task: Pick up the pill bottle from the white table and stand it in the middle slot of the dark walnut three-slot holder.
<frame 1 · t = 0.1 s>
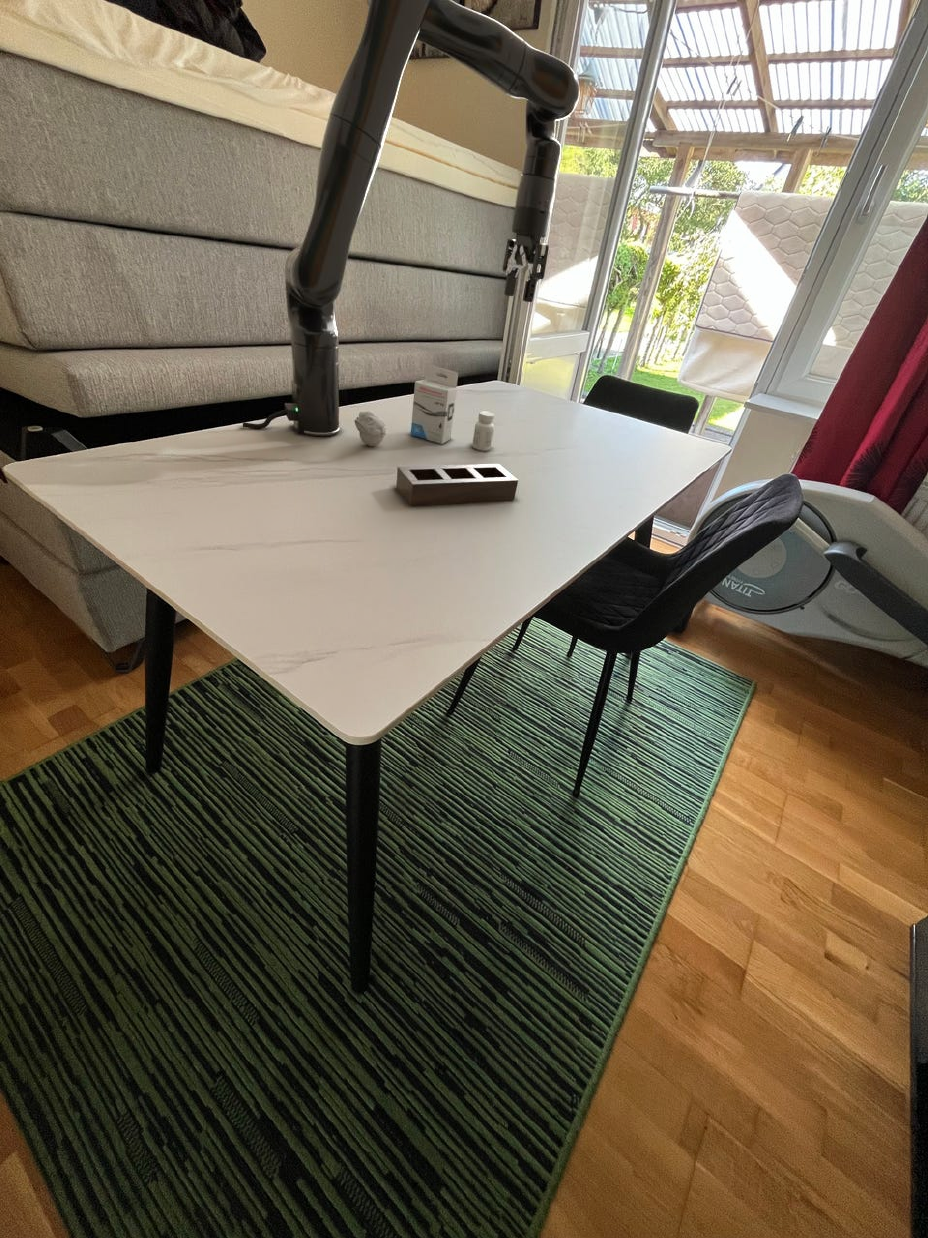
hand: (517, 298, 115), 29 cm above the table, tool pointing down, fingers open, 8 cm apart
pill bottle: (481, 448, 120), on the table
ink box: (430, 438, 121), on the table
frog figurine: (369, 446, 111), on the table
holder: (456, 493, 96), on the table
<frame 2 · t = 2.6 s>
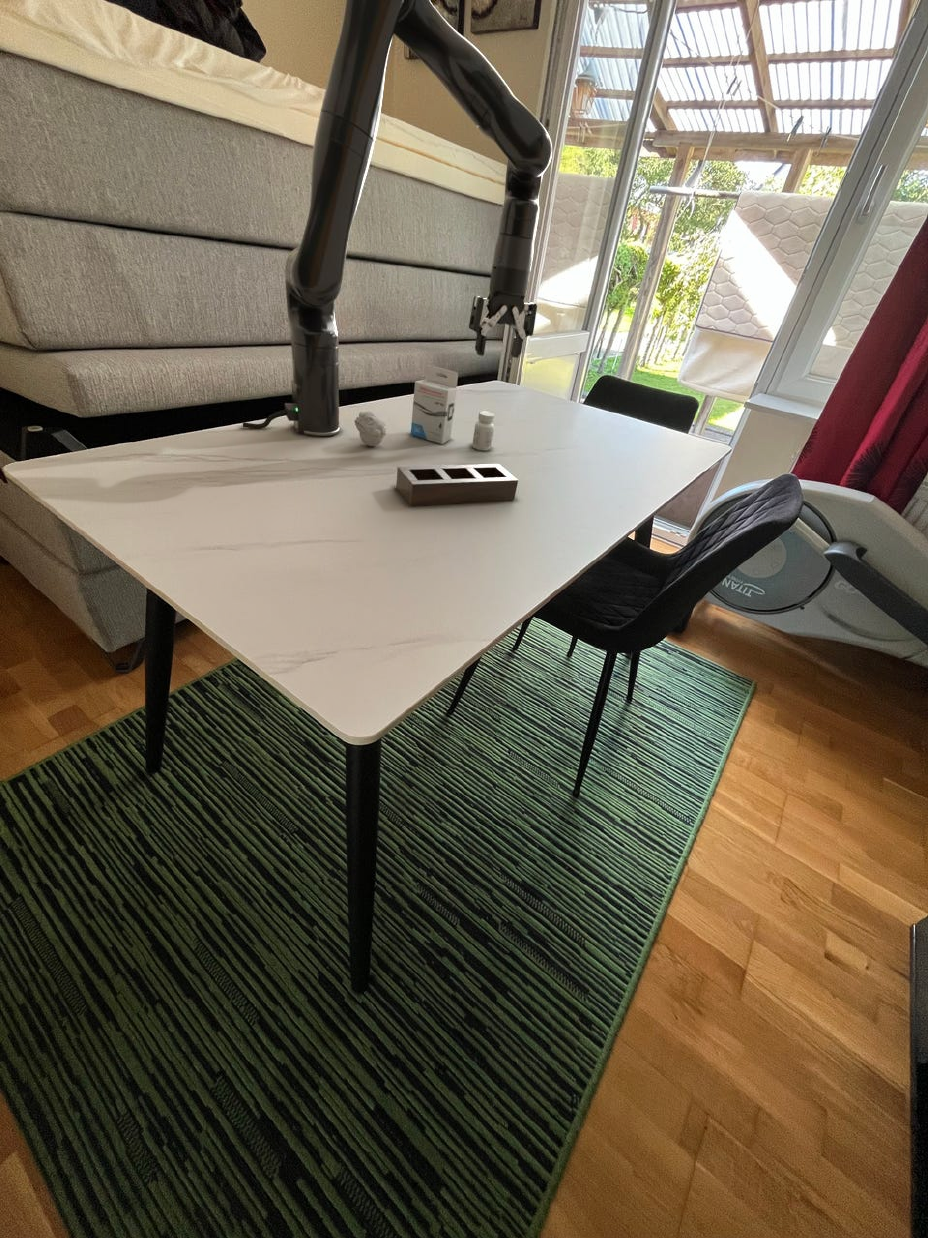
hand: (497, 355, 111), 19 cm above the table, tool pointing down, fingers open, 8 cm apart
nothing on the table moved.
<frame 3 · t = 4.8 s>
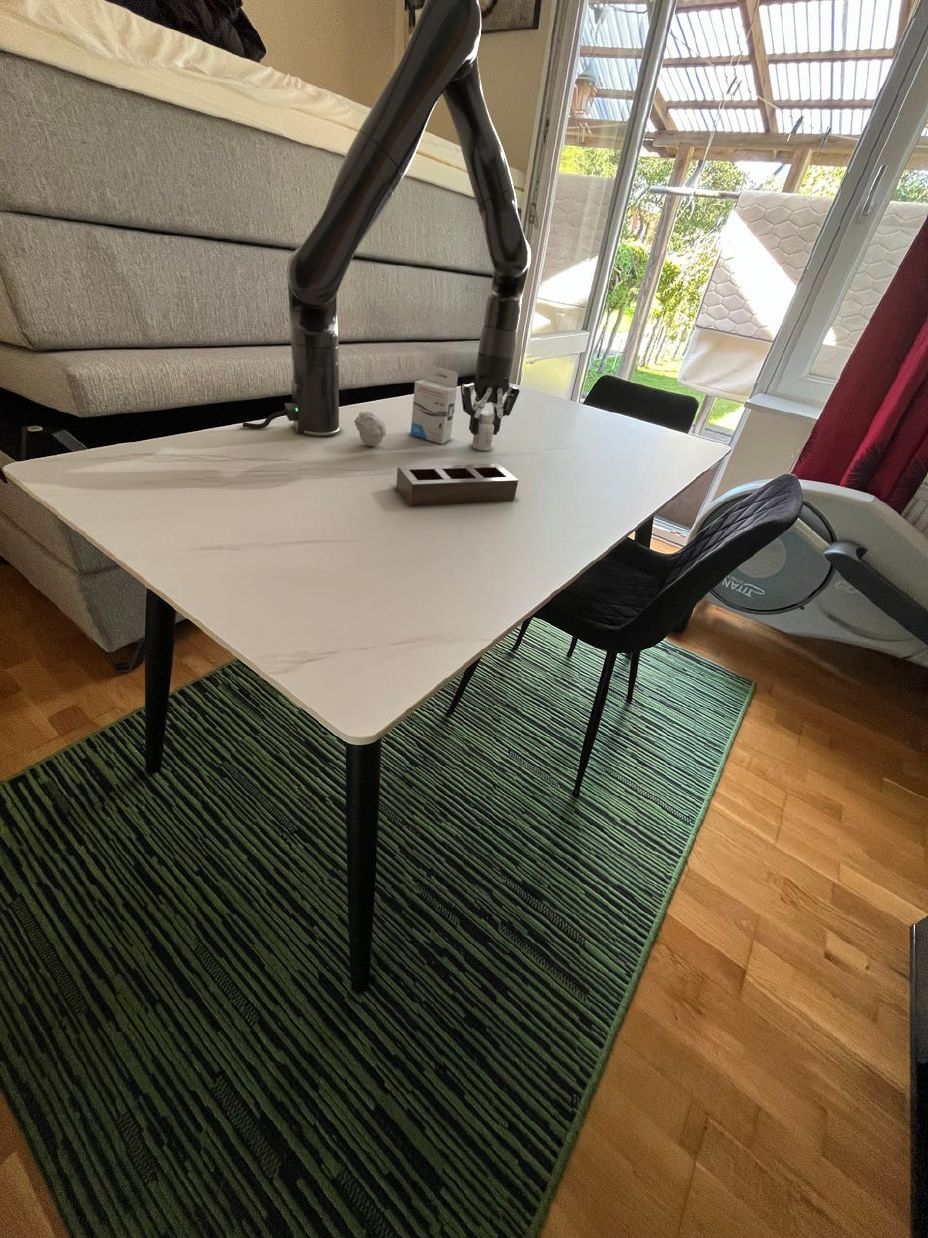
hand: (483, 433, 118), 3 cm above the table, tool pointing down, fingers closed on pill bottle, 4 cm apart
pill bottle: (481, 448, 120), on the table, touching gripper
everything else where it was.
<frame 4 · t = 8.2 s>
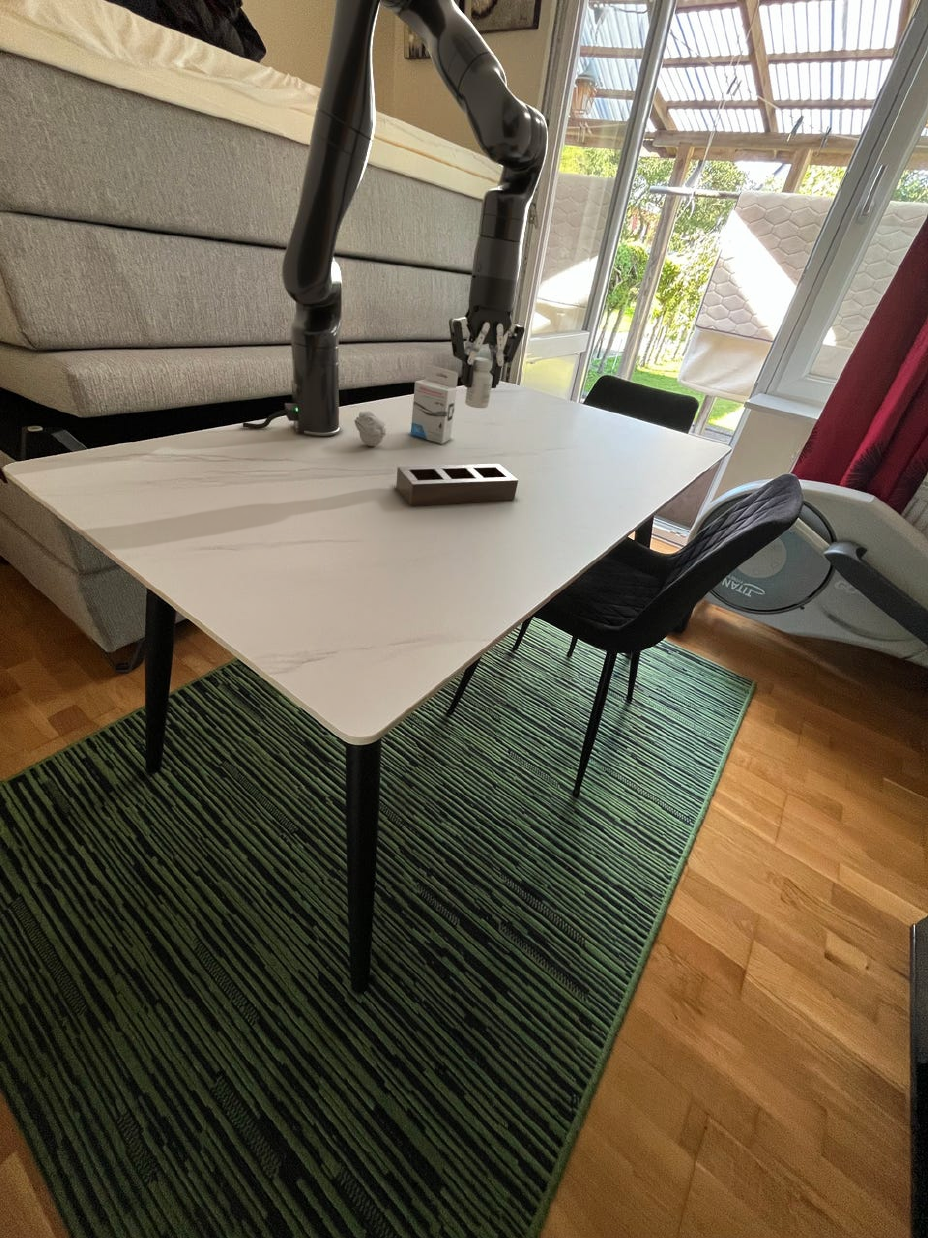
hand: (479, 386, 93), 17 cm above the table, tool pointing down, fingers closed on pill bottle, 4 cm apart
pill bottle: (476, 406, 95), point 14 cm above the table, touching gripper
everything else where it was.
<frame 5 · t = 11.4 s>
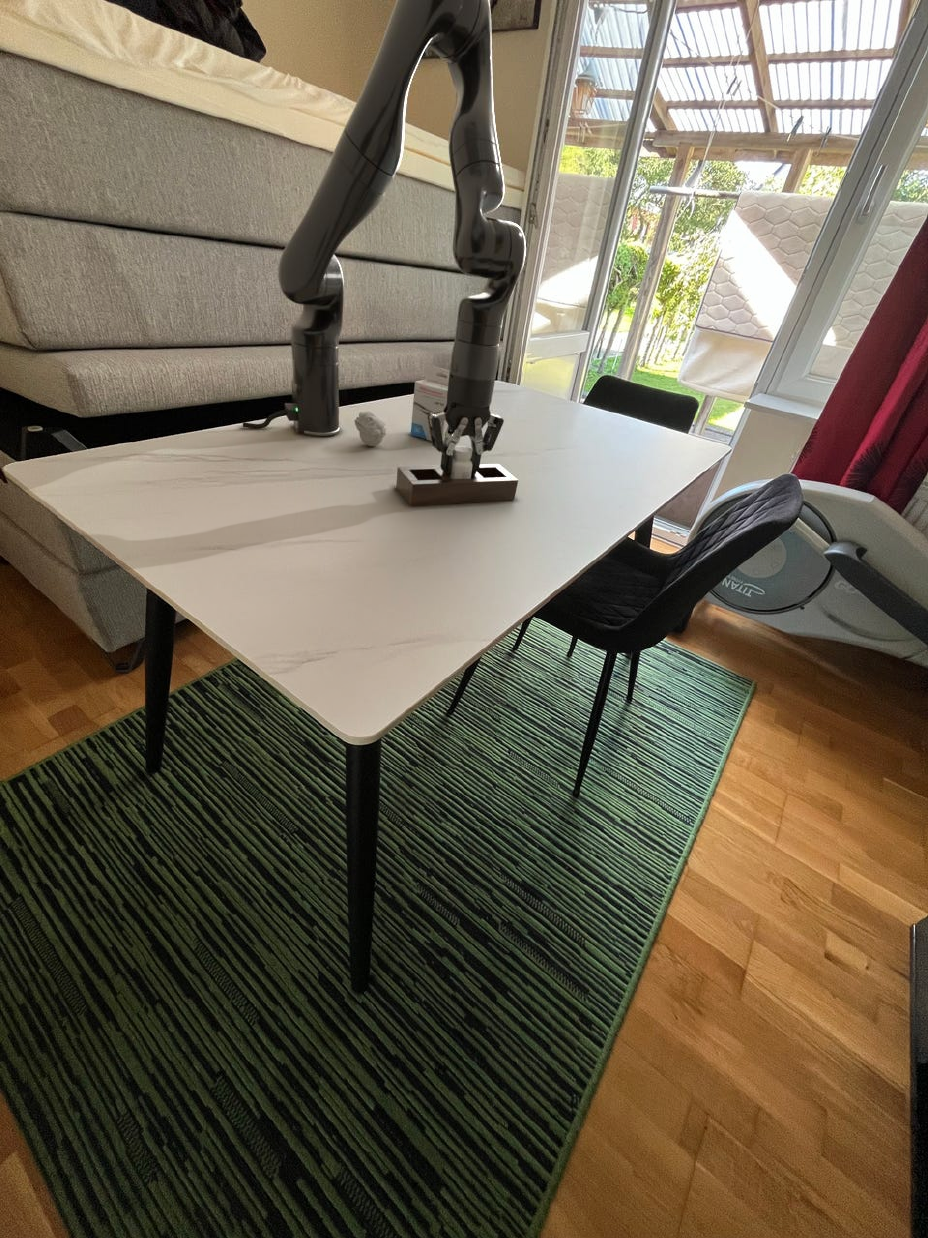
hand: (459, 472, 94), 4 cm above the table, tool pointing down, fingers closed on pill bottle, 4 cm apart
pill bottle: (456, 490, 96), point 1 cm above the table, touching gripper
everything else where it was.
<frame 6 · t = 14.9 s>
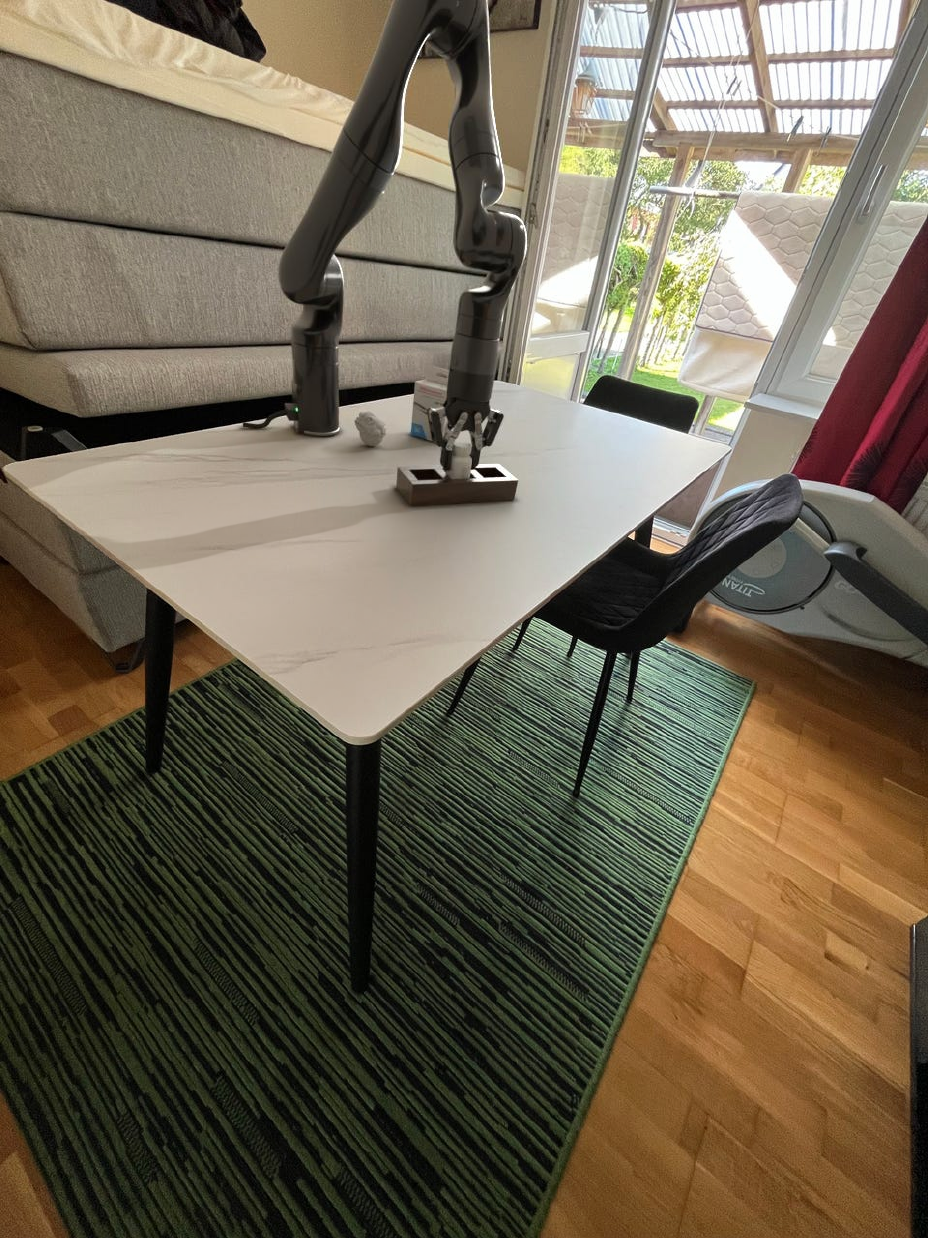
hand: (458, 468, 93), 5 cm above the table, tool pointing down, fingers closed on pill bottle, 4 cm apart
pill bottle: (456, 486, 95), point 1 cm above the table, touching gripper
everything else where it was.
when the fingers open (5 cm above the table, at t = 17.9 s): pill bottle drops 2 cm, resting in holder.
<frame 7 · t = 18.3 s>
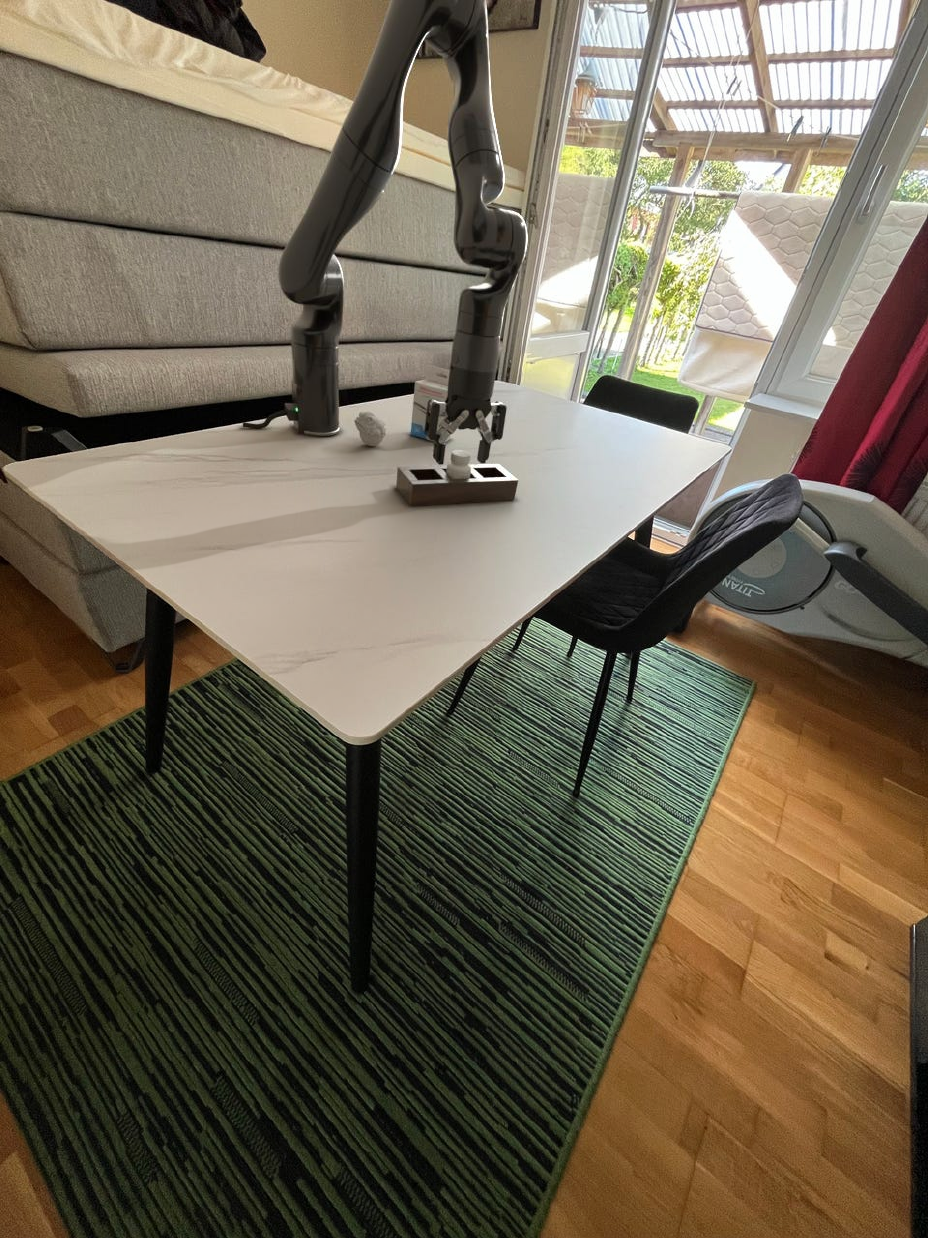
hand: (460, 462, 93), 6 cm above the table, tool pointing down, fingers open, 8 cm apart
pill bottle: (455, 494, 96), resting in holder
everything else where it was.
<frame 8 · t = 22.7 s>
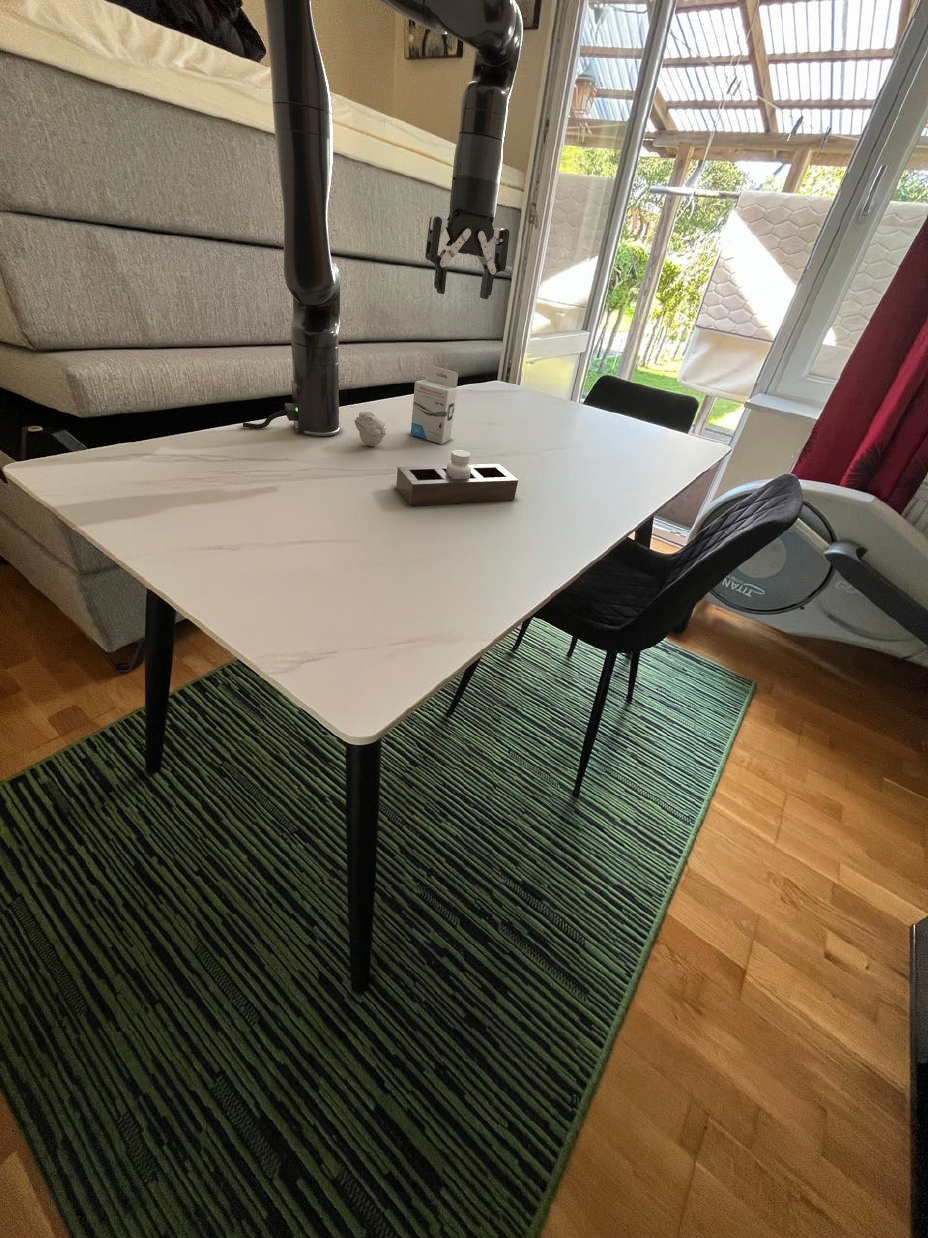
hand: (462, 295, 91), 30 cm above the table, tool pointing down, fingers open, 8 cm apart
nothing on the table moved.
at the end: pill bottle 0.1 cm off-centre in the holder, point 0.0 cm above the holder's base; pill bottle tilted 0° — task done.
